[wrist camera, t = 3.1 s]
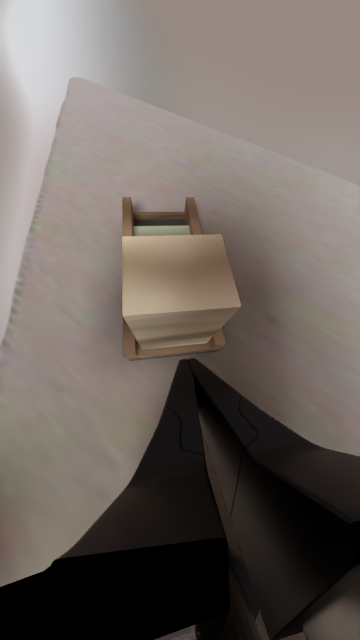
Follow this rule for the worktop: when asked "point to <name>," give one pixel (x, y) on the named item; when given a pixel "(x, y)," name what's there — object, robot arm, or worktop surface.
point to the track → (161, 227)
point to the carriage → (176, 288)
